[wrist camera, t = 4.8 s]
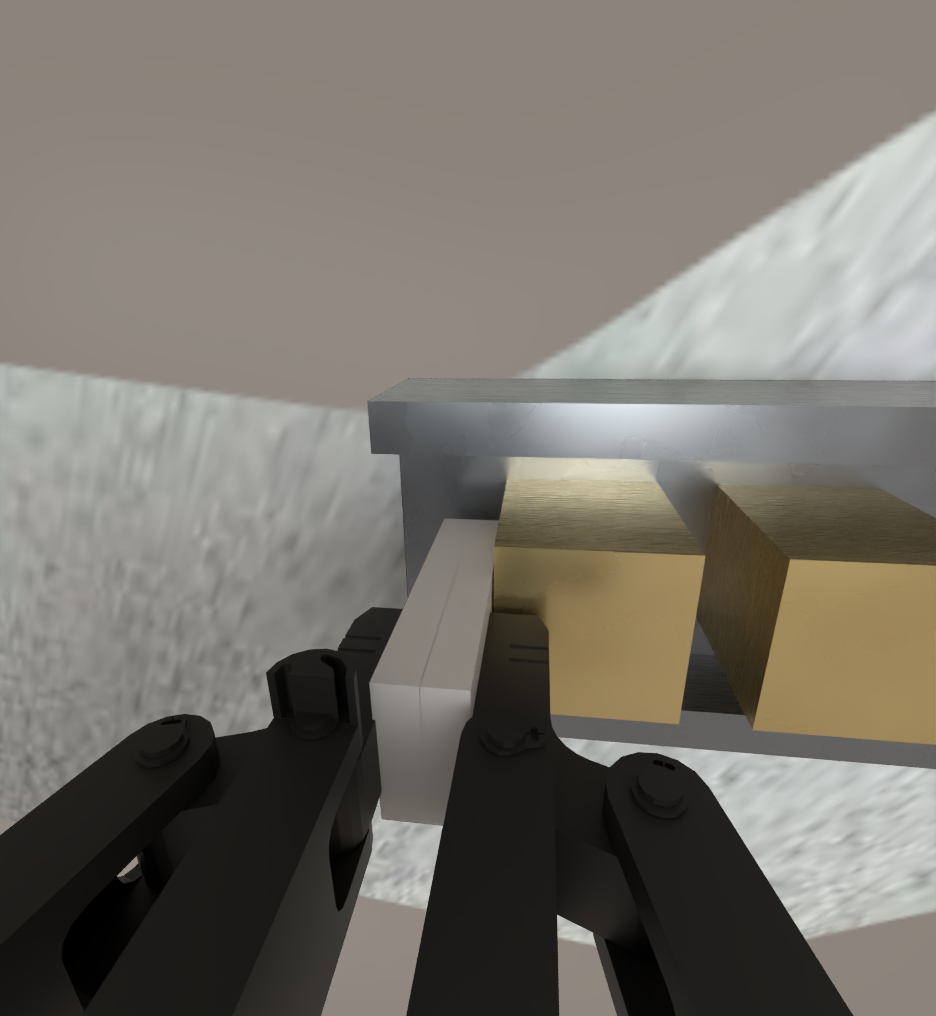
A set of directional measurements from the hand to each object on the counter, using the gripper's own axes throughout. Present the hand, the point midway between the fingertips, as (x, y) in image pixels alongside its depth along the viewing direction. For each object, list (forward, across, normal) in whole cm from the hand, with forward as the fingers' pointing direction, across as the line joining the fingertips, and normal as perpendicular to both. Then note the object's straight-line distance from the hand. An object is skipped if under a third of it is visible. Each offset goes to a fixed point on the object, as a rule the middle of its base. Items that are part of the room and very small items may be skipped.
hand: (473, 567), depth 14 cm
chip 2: (+2, +8, 0) cm, 8 cm away
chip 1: (+2, +3, 0) cm, 3 cm away
